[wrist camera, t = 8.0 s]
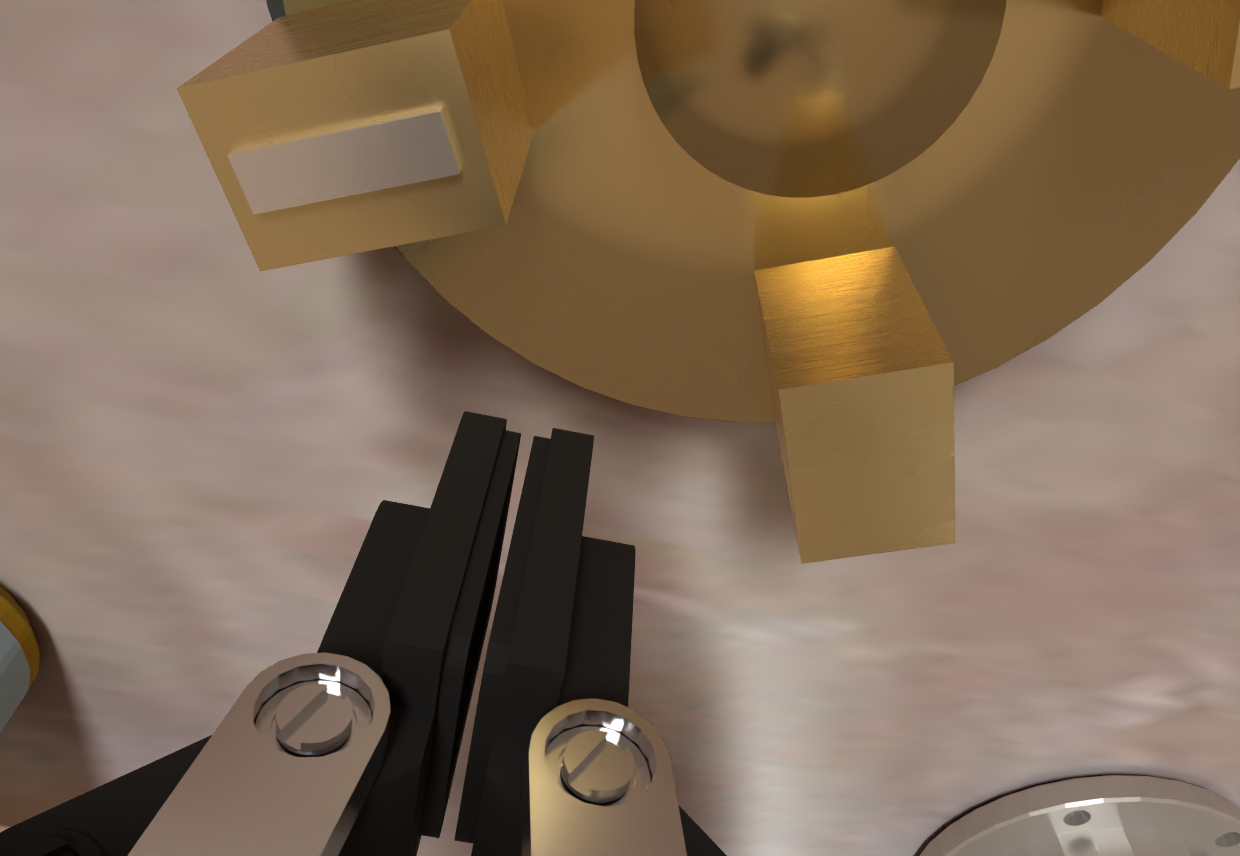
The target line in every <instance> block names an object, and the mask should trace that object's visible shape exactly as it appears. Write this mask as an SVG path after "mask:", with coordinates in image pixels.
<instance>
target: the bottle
mask: <svg viewBox="0 0 1240 856" xmlns="http://www.w3.org/2000/svg"><path fill="white" fill-rule="evenodd" d="M39 659H40V653H39V648H38V645H37V642H36V639H35V636H34V633H33V630H32V628H31V625H30V623H29V620H28V618H27V615H26V613H25V611H24V610H23V609H22V608H21V607H20V606H19V604H18V603H17V602H16V601H15V600H14V598H13V597H12V596H11V595H10V593H9V592H8V591H7V590H6V589H4V588H3V587H1V586H0V733H1V731H2V730H3V728H4V727H5V725H6V724H7V722H8V721H9V719H10V718H11V716H12V715H13V713H14V712H15V710H16V709H17V707H18V706H19V704H20V703H21V701H22V700H23V698H24V697H25V695H26V694H27V692H28V689H29V687H30V686H31V684H32V683H33V681H34V680H35V678H36V677H37V674H38V671H39Z"/></svg>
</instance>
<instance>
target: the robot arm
mask: <svg viewBox="0 0 1240 856" xmlns="http://www.w3.org/2000/svg"><path fill="white" fill-rule="evenodd" d="M506 422H507V419H503V418H498V417H492V416H487V415H482V414H477V413H471V412H466V411H465V412H464V413H463V416H462V418H461V421H460V424H459V427H458V430H457V433H456V436H455V439H454V442H453V444H452V447H451V450H450V453H449V456H448V459H447V462H446V465H445V468H444V471H443V473H442V476H441V479H440V482H439V485H438V488H437V491H436V494H435V497H434V500H433V502H432V505H431V508H424V507H419V506H413V505H408V504H402V503H397V502H391V501H386V500H383V501H382V502H381V503H380V505H379V507H378V509H377V511H376V514H375V516H374V518H373V521H372V523H371V526H370V528H369V530H368V533H367V535H366V537H365V540H364V542H363V545H362V547H361V549H360V552H359V554H358V556H357V559H356V561H355V564H354V566H353V568H352V571H351V573H350V576H349V578H348V580H347V583H346V585H345V587H344V590H343V592H342V595H341V597H340V599H339V602H338V604H337V606H336V609H335V611H334V614H333V616H332V618H331V621H330V623H329V626H328V628H327V630H326V633H325V635H324V637H323V640H322V642H321V645H320V647H319V649H318V652H317V653H310V654H301V655H297V656H294V657H291V658H288V659H284V660H281V661H279V662H277V663H275V664H274V665H272V666H270V667H269V668H267V669H265V670H264V671H262V672H260V673H259V674H258V675H257V676H256V677H255V679H254V680H253V681H252V682H251V683H250V684H249V685H248V686H247V687H246V688H245V689H244V691H243V692H242V694H241V695H240V696H239V698H238V699H237V701H236V702H235V704H234V705H233V706H232V708H231V709H230V711H229V712H228V713H227V715H226V716H225V718H224V719H223V721H222V722H221V723H220V725H219V726H218V728H217V729H216V731H215V732H214V733H213V735H211V736H209V737H207V738H204V739H202V740H200V741H198V742H196V743H193V744H191V745H189V746H187V747H185V748H183V749H180V750H178V751H176V752H174V753H172V754H169V755H167V756H165V757H163V758H161V759H159V760H156V761H154V762H152V763H150V764H148V765H145V766H143V767H141V768H139V769H137V770H135V771H132V772H130V773H128V774H126V775H124V776H121V777H119V778H117V779H115V780H113V781H111V782H108V783H106V784H104V785H102V786H100V787H97V788H95V789H93V790H91V791H89V792H87V793H84V794H82V795H80V796H78V797H76V798H73V799H71V800H69V801H67V802H65V803H63V804H60V805H58V806H56V807H54V808H52V809H50V810H47V811H45V812H43V813H41V814H39V815H36V816H34V817H32V818H30V819H28V820H26V821H23V822H21V823H19V824H17V825H15V826H12V827H10V828H8V829H6V830H4V831H3V832H1V833H0V856H416V855H417V851H418V847H419V843H420V839H421V835H423V836H429V837H436V838H439V837H440V833H441V829H442V825H443V821H444V816H445V812H446V807H447V803H448V798H449V794H450V790H451V785H452V781H453V776H454V772H455V767H456V763H457V759H458V754H459V750H460V745H461V741H462V736H463V732H464V728H465V723H466V719H467V714H468V710H469V705H470V701H471V697H472V692H473V688H474V683H475V679H476V674H477V670H478V666H479V661H480V657H481V652H482V648H483V643H484V639H485V635H486V630H487V626H488V621H489V617H490V612H491V608H492V603H493V598H494V592H495V587H496V581H497V575H498V569H499V563H500V557H501V551H502V545H503V539H504V533H505V527H506V521H507V515H508V509H509V503H510V497H511V491H512V486H513V480H514V474H515V468H516V462H517V456H518V450H519V444H520V437H521V433H516V432H511V431H506ZM593 442H594V436H593V435H588V434H582V433H577V432H572V431H566V430H561V429H556V428H553V430H552V435H551V439H548V438H543V437H538V436H534V439H533V444H532V448H531V453H530V457H529V462H528V466H527V471H526V475H525V480H524V485H523V489H522V494H521V498H520V503H519V507H518V512H517V516H516V521H515V525H514V530H513V535H512V539H511V544H510V548H509V553H508V557H507V562H506V566H505V571H504V576H503V580H502V585H501V589H500V594H499V598H498V603H497V607H496V612H495V616H494V621H493V626H492V630H491V635H490V639H489V644H488V649H487V654H486V659H485V664H484V670H483V675H482V681H481V687H480V693H479V699H478V705H477V710H476V716H475V722H474V728H473V734H472V740H471V746H470V752H469V758H468V764H467V770H466V775H465V781H464V787H463V793H462V799H461V805H460V811H459V817H458V823H457V829H456V834H455V841H461V842H467V843H473V849H472V854H471V856H726V855H725V853H724V852H723V851H722V850H721V849H720V848H719V847H718V846H717V845H716V844H715V843H714V842H713V841H712V840H711V839H710V838H709V837H708V836H707V835H706V833H705V832H704V831H703V830H702V829H701V828H700V827H699V826H698V825H697V824H696V823H695V822H694V821H693V820H692V819H691V818H690V817H689V816H688V815H687V813H686V812H685V811H684V810H683V809H682V808H681V807H680V806H679V805H678V800H677V794H676V788H675V782H674V776H673V770H672V764H671V759H670V756H669V753H668V750H667V747H666V744H665V741H664V739H663V738H662V737H661V735H660V734H659V733H658V731H657V730H656V729H655V727H654V726H653V724H652V723H650V722H649V721H648V720H647V719H645V718H644V717H643V716H641V715H640V714H639V713H638V712H636V711H635V710H633V709H630V708H628V694H629V674H630V654H631V634H632V614H633V594H634V573H635V547H634V546H633V545H628V544H622V543H617V542H611V541H606V540H600V539H595V538H589V537H584V536H582V530H583V522H584V514H585V506H586V498H587V490H588V482H589V474H590V466H591V458H592V450H593ZM920 856H1240V808H1239V807H1238V806H1237V805H1235V804H1234V803H1233V802H1231V801H1229V800H1228V799H1226V798H1224V797H1222V796H1220V795H1218V794H1216V793H1214V792H1212V791H1210V790H1207V789H1204V788H1201V787H1198V786H1194V785H1191V784H1188V783H1184V782H1181V781H1177V780H1170V779H1163V778H1157V777H1150V776H1128V775H1106V776H1095V777H1084V778H1074V779H1069V780H1064V781H1059V782H1054V783H1049V784H1043V785H1038V786H1035V787H1032V788H1029V789H1026V790H1022V791H1019V792H1016V793H1013V794H1010V795H1007V796H1004V797H1002V798H999V799H997V800H995V801H993V802H990V803H988V804H986V805H984V806H981V807H979V808H977V809H975V810H973V811H972V812H970V813H968V814H967V815H965V816H963V817H962V818H960V819H959V820H957V821H955V822H954V823H952V824H951V825H949V826H948V827H947V828H946V829H945V830H943V831H942V832H941V833H940V834H939V835H938V836H937V837H935V838H934V839H933V840H932V841H931V842H930V843H929V844H928V845H927V846H926V848H925V849H924V850H923V852H922V853H921V854H920Z"/></svg>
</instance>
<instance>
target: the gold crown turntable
mask: <svg viewBox="0 0 1240 856" xmlns="http://www.w3.org/2000/svg"><path fill="white" fill-rule="evenodd" d="M283 3H284V8H285V14H286V16H282V17H279V18H277V19H276V20H274V21H273V22H272V23H270V24H269V25H267V26H266V27H264V28H263V29H262V30H260V31H259V32H257V33H256V34H254V35H253V36H252V37H250V38H249V39H247V40H246V41H244V42H243V43H241V44H240V45H239V46H237V47H236V48H234V49H233V50H231V51H230V52H229V53H227V54H226V55H224V56H223V57H221V58H220V59H219V60H217V61H216V62H214V63H213V64H211V65H210V66H208V67H207V68H206V69H204V70H203V71H201V72H200V73H198V74H197V75H196V76H194V77H193V78H191V79H190V80H188V81H187V82H186V83H184V84H183V85H181V86H180V87H178V88H177V90H178V92H179V94H180V96H181V99H182V101H183V103H184V105H185V107H186V110H187V112H188V114H189V116H190V118H191V121H192V123H193V125H194V127H195V129H196V131H197V134H198V136H199V138H200V140H201V142H202V145H203V147H204V149H205V151H206V153H207V156H208V158H209V160H210V162H211V164H212V166H213V169H214V171H215V173H216V175H217V177H218V180H219V182H220V184H221V186H222V188H223V191H224V193H225V195H226V197H227V199H228V202H229V204H230V206H231V208H232V210H233V212H234V215H235V217H236V219H237V221H238V223H239V226H240V228H241V230H242V232H243V234H244V237H245V239H246V241H247V243H248V245H249V247H250V250H251V252H252V254H253V256H254V258H255V261H256V263H257V265H258V267H259V269H260V271H264V270H270V269H275V268H280V267H286V266H291V265H296V264H302V263H307V262H312V261H318V260H323V259H328V258H334V257H339V256H344V255H350V254H355V253H360V252H366V251H371V250H376V249H382V248H387V247H392V246H396V247H397V248H398V249H399V251H400V252H401V253H402V255H403V256H404V257H405V258H406V260H407V261H408V262H409V263H410V264H411V265H412V266H413V267H414V268H415V269H416V270H417V271H418V272H419V273H420V274H421V275H422V276H423V277H424V278H425V279H426V280H427V281H428V282H429V283H430V284H431V285H432V286H433V287H434V288H435V289H436V290H437V291H438V292H439V293H440V295H441V296H442V297H443V298H444V299H445V300H446V301H448V302H449V303H450V304H451V305H453V306H454V307H455V308H456V309H457V310H459V311H460V312H461V313H462V314H464V315H465V316H466V317H467V318H469V319H470V320H471V321H472V322H473V323H475V324H476V325H477V326H478V327H480V328H481V329H482V330H483V331H484V332H486V333H487V334H488V335H490V336H491V337H493V338H494V339H496V340H497V341H499V342H500V343H502V344H504V345H505V346H507V347H508V348H510V349H511V350H513V351H515V352H516V353H518V354H519V355H521V356H522V357H524V358H526V359H527V360H529V361H530V362H532V363H533V364H535V365H537V366H539V367H541V368H543V369H545V370H547V371H550V372H552V373H554V374H556V375H558V376H560V377H562V378H564V379H566V380H568V381H570V382H572V383H574V384H576V385H578V386H580V387H583V388H585V389H588V390H591V391H594V392H597V393H600V394H602V395H605V396H608V397H611V398H614V399H617V400H619V401H622V402H625V403H628V404H631V405H635V406H639V407H644V408H648V409H652V410H657V411H661V412H665V413H670V414H674V415H678V416H684V417H692V418H701V419H710V420H718V421H727V422H769V423H775V427H776V433H777V438H778V443H779V448H780V453H781V459H782V464H783V469H784V474H785V479H786V485H787V490H788V495H789V500H790V505H791V511H792V516H793V521H794V526H795V531H796V537H797V542H798V547H799V552H800V557H801V562H802V563H810V562H817V561H825V560H832V559H840V558H847V557H855V556H862V555H870V554H877V553H885V552H892V551H900V550H907V549H915V548H922V547H930V546H937V545H945V544H952V543H955V460H954V385H956V384H959V383H961V382H963V381H966V380H968V379H970V378H973V377H975V376H977V375H979V374H982V373H984V372H986V371H989V370H991V369H993V368H996V367H998V366H1000V365H1001V364H1003V363H1005V362H1007V361H1009V360H1010V359H1012V358H1014V357H1016V356H1018V355H1019V354H1021V353H1023V352H1025V351H1027V350H1028V349H1030V348H1032V347H1034V346H1036V345H1038V344H1039V343H1041V342H1043V341H1045V340H1047V339H1048V338H1050V337H1051V336H1053V335H1054V334H1056V333H1057V332H1059V331H1060V330H1062V329H1063V328H1064V327H1066V326H1067V325H1069V324H1070V323H1072V322H1073V321H1075V320H1076V319H1077V318H1079V317H1080V316H1082V315H1083V314H1085V313H1086V312H1088V311H1089V310H1090V309H1092V308H1093V307H1095V306H1096V305H1098V304H1099V303H1100V302H1102V301H1103V300H1104V299H1105V298H1106V297H1108V296H1109V295H1110V294H1111V293H1112V292H1114V291H1115V290H1116V289H1117V288H1118V287H1119V286H1121V285H1122V284H1123V283H1124V282H1125V281H1127V280H1128V279H1129V278H1130V277H1131V276H1132V275H1134V274H1135V273H1136V272H1137V271H1138V270H1140V269H1141V268H1142V267H1143V266H1144V265H1145V264H1147V263H1148V262H1149V261H1150V260H1151V259H1152V258H1153V257H1154V256H1155V255H1156V254H1157V253H1158V252H1159V251H1160V250H1161V249H1162V248H1163V247H1164V246H1165V245H1166V244H1167V243H1168V241H1169V240H1170V239H1171V238H1172V237H1173V236H1174V235H1175V234H1176V233H1177V232H1178V231H1179V230H1180V229H1181V228H1182V227H1183V226H1184V225H1185V224H1186V223H1187V222H1188V221H1189V220H1190V219H1191V218H1192V217H1193V216H1194V215H1195V214H1196V213H1197V211H1198V210H1199V209H1200V208H1201V206H1202V205H1203V204H1204V203H1205V201H1206V200H1207V199H1208V198H1209V196H1210V195H1211V194H1212V193H1213V191H1214V190H1215V189H1216V188H1217V186H1218V185H1219V184H1220V183H1221V181H1222V180H1223V179H1224V177H1225V176H1226V175H1227V174H1228V172H1229V171H1230V170H1231V169H1232V167H1233V166H1234V165H1235V164H1236V162H1237V161H1238V160H1239V159H1240V0H283Z"/></svg>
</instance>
